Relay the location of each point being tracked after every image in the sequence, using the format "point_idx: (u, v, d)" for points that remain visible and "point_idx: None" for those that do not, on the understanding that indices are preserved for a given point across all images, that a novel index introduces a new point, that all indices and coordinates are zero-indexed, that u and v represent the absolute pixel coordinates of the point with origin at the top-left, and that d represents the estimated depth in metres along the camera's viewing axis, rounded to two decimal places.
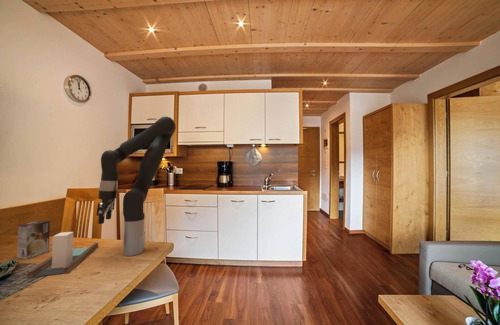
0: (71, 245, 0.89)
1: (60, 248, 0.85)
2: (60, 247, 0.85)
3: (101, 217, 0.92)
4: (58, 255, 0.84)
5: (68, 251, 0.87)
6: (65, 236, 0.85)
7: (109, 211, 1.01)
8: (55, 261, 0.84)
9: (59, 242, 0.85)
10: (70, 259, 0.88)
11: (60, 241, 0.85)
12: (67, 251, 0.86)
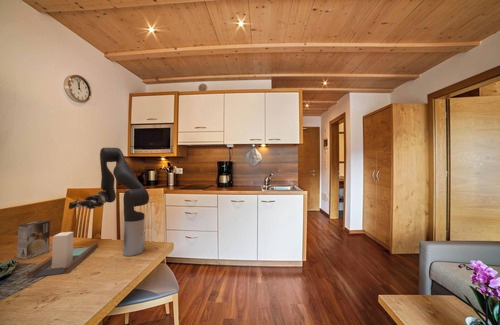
0: (71, 245, 0.89)
1: (60, 248, 0.85)
2: (60, 247, 0.85)
3: None
4: (58, 255, 0.84)
5: (68, 251, 0.87)
6: (65, 236, 0.85)
7: None
8: (55, 261, 0.84)
9: (59, 242, 0.85)
10: (70, 259, 0.88)
11: (60, 241, 0.85)
12: (67, 251, 0.86)
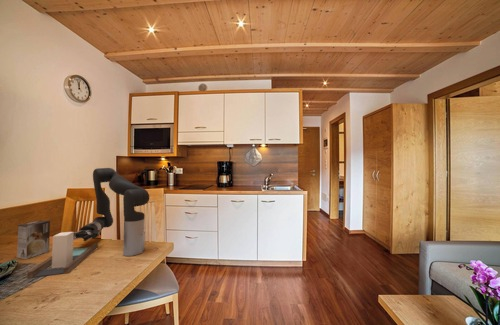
0: (71, 245, 0.89)
1: (60, 248, 0.85)
2: (60, 247, 0.85)
3: None
4: (58, 255, 0.84)
5: (68, 251, 0.87)
6: (65, 236, 0.85)
7: None
8: (55, 261, 0.84)
9: (59, 242, 0.85)
10: (70, 259, 0.88)
11: (60, 241, 0.85)
12: (67, 251, 0.86)
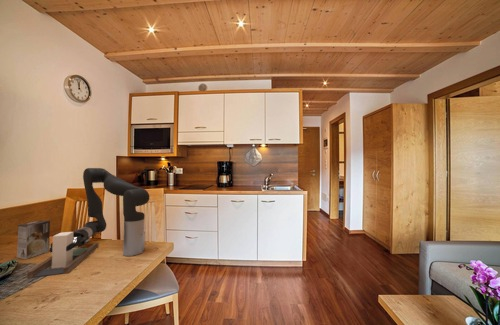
0: None
1: (60, 248, 0.85)
2: (60, 247, 0.85)
3: None
4: (58, 255, 0.84)
5: (68, 251, 0.87)
6: (65, 236, 0.85)
7: None
8: (55, 261, 0.84)
9: (59, 242, 0.85)
10: (70, 259, 0.88)
11: (60, 241, 0.85)
12: (67, 251, 0.86)
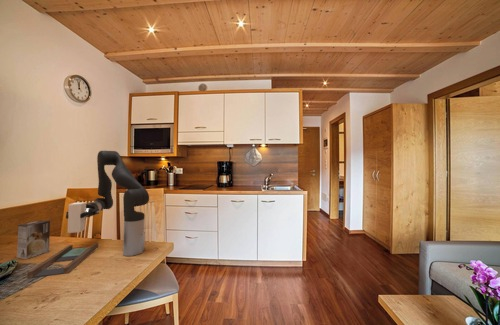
0: None
1: (74, 215, 0.95)
2: (74, 214, 0.95)
3: None
4: (73, 221, 0.95)
5: (82, 219, 0.97)
6: (79, 205, 0.96)
7: None
8: (70, 226, 0.95)
9: (74, 210, 0.95)
10: (83, 226, 0.99)
11: (74, 209, 0.95)
12: (81, 219, 0.97)
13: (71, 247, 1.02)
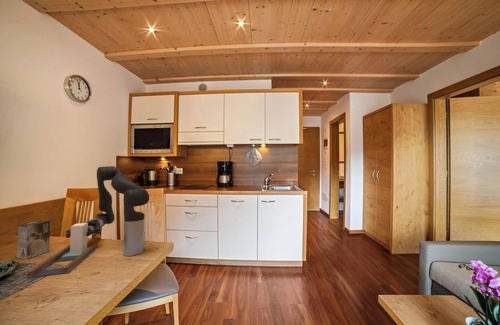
0: (86, 234, 1.01)
1: (76, 236, 0.97)
2: (76, 235, 0.97)
3: None
4: (75, 242, 0.97)
5: (83, 240, 0.99)
6: (81, 226, 0.98)
7: None
8: (73, 248, 0.97)
9: (76, 232, 0.97)
10: (85, 247, 1.01)
11: (77, 231, 0.97)
12: (83, 240, 0.99)
13: None
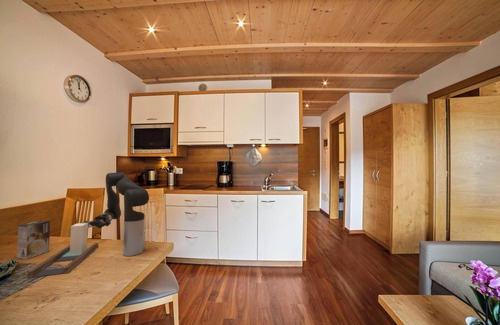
0: (86, 234, 1.01)
1: (76, 236, 0.97)
2: (76, 235, 0.97)
3: None
4: (75, 242, 0.97)
5: (83, 240, 0.99)
6: (81, 226, 0.98)
7: None
8: (73, 248, 0.97)
9: (76, 232, 0.97)
10: (85, 247, 1.01)
11: (76, 231, 0.97)
12: (83, 240, 0.99)
13: None
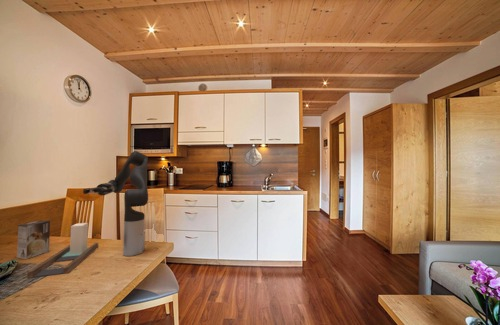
0: (86, 234, 1.01)
1: (76, 236, 0.97)
2: (76, 235, 0.97)
3: None
4: (75, 242, 0.97)
5: (83, 240, 0.99)
6: (81, 226, 0.98)
7: None
8: (73, 248, 0.97)
9: (76, 232, 0.97)
10: (85, 247, 1.01)
11: (76, 231, 0.97)
12: (83, 240, 0.99)
13: None
